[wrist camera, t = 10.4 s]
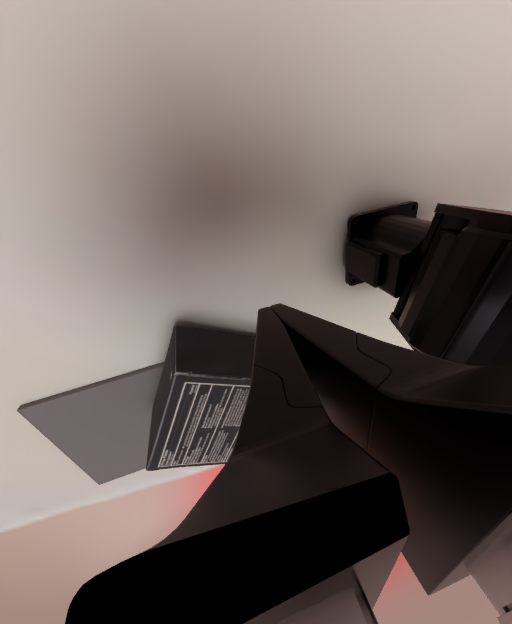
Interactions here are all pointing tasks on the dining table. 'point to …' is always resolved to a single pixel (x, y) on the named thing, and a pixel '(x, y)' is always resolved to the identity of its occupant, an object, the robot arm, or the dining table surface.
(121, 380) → the mat
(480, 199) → the dining table surface
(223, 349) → the small box
